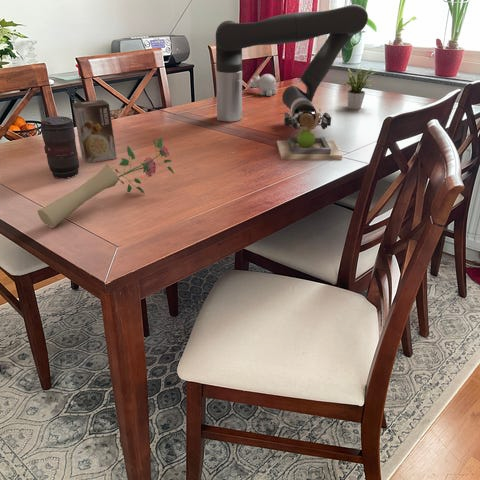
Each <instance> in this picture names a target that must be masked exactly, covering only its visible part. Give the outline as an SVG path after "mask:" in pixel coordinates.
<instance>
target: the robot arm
mask: <svg viewBox="0 0 480 480" xmlns="http://www.w3.org/2000/svg"><path fill="white" fill-rule="evenodd" d="M368 20H369V15H368V12H367V10H366V9H365V8H364V7H363V6H362V5H359V4H355V3H354V4H349V5H344V6H342V7H336V8H332V9H328V10H321V11H320V10H318V11H316V10H315V11H301V12H293V13H283V14H279V15H275V16H272V17H268V18H265V19H262V20H259V21H255V22H240V23H239V22H235V21H233V20H225V21H223V22H221V23H220V24H219V25H218V26H217V28H216V31H215V68H216V69H215V71H216V72H215V73H216V121H221V122H237V121H241V120H242V119H243V49H246V48H247V49H248V48H250V47H256V46H266V45H267V46H268V45H270V46H271V45H272V46H273V45H283V44H291V43H300V42H305V41H308V40H311V39H314V38H318V37H321V36H324V35H328V36H327V38H326V40H325V42H324V43H323V45H322V46H321V47H320V49H318V51H317V53H316V54H315V56H313V58H312V60H311V61H310V63H309V64H308V65H307V67H306V68H305V69H304V71H303V72H302V74H301V75H300V81H301V82H302V84H303V85H304V86H305V87H306V90H305V91H306V92H305V91H303V90H302V89H300V88H299V87H298V86H296V85H290V86H287V88H285V90H284V91H283V93H282V95H281V97H282V98H281V101H282V103H283V104H284V105H285V106H286V107H287V109H289V110H290V113H288V112H284V114H283V123H284V126H285V127H289V125H290V127H291V128H292V129H294V130H298V127H299V126H301V125H300V123H299V119H300V117H301V115H303V114H310V115H312V116H313V118H314V121H315V118H316V113H317V110H316V108H315V107H314V105H313V100H314V97H315V94H316V92H317V90H318V88H319V86H320V84H321V83H322V82H323V80H324V78H325V77H326V76H327V75H328V73H329V72H330V70H331V68H332V66H333V64H334V62H335V61H336V59H337V57H338V55H339V54H340V52H341V50H342V49H343V48H344V46H345V45H346V44H347V43H348V42H349V41H350V40H351V39H352V37H354V36H356V35H357V34H358V33H360V32H361V31H362V30H363V29H364V28H365V27H366V25H367V23H368ZM290 114H291V115H290ZM331 125H332V116H331V115H330V114H329V113H328V112H324V113H323V114H322V115H320V118H319V121H318V124H317V126H316V127H319V126H320V127H321V129H322V130H326V129H327V128H328V127H330V126H331Z"/></svg>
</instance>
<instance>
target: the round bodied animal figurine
mask: <svg viewBox="0 0 480 480" xmlns="http://www.w3.org/2000/svg"><path fill="white" fill-rule="evenodd" d="M276 85H277V79H276V78H275V77H274V75H273V74H271V73H265V74H262V75H261V76H260V75H259V74H257V76H255V75H254V76H253V79H252V78H250V87H251V88H252V89H255V88H256V87H257V88H259V89H260V91H259V95H260V96H267V97H272V95H275V94H277V88H276Z"/></svg>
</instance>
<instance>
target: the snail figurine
mask: <svg viewBox="0 0 480 480" xmlns="http://www.w3.org/2000/svg"><path fill="white" fill-rule="evenodd" d="M318 111H319V112H316V118H315V121H314V118H313V116H312V115H310V114H303V115H301V117H300V119H299V123H300V125H301V126H298V128H299V129H300V130H301V131H300V132H299V133H298V135H297V136H296V137H297V141H298V144H299V145H300V146H301V147H304V148H309V147H311V146H312V145H313V144H314V142H315V137H316V135H315V133H314V132H313V130H314V129H316V127H318V126H317V124H318V121H319V118H320V115H321V111H322V109H321V108H319V109H318Z"/></svg>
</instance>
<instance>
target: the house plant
mask: <svg viewBox="0 0 480 480" xmlns="http://www.w3.org/2000/svg"><path fill="white" fill-rule="evenodd" d="M354 68H355V70H356V77H355V74H354V73H353V72H352V71H351V69H350V68H347V70H348V72H349V75H348V73H347V72H345V74H346V76H348V79H349V80H345V79H344V80H343V82H345V84H343V86H346V87H348V89H349V90H347V91H346V93H347V94H346V95H347V108H349V109H351V110H361V108H362V106H363V102H364V98H365V94H366V91H364V90H362V89H365V88H367V89H369V86H370V87H372V85H371V83H369V82H370V81H371V79H369V77H370V76H372V75H374V74H375V73H378V72H377V71H373V68H370V69H368V70H365V71H362V68H361V67H359V68H357V66H354ZM375 69H376V68H374V70H375ZM371 71H373V72H371ZM370 72H371V73H370ZM367 74H368V75H367ZM367 79H368V80H367ZM348 85H349V86H348Z"/></svg>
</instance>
